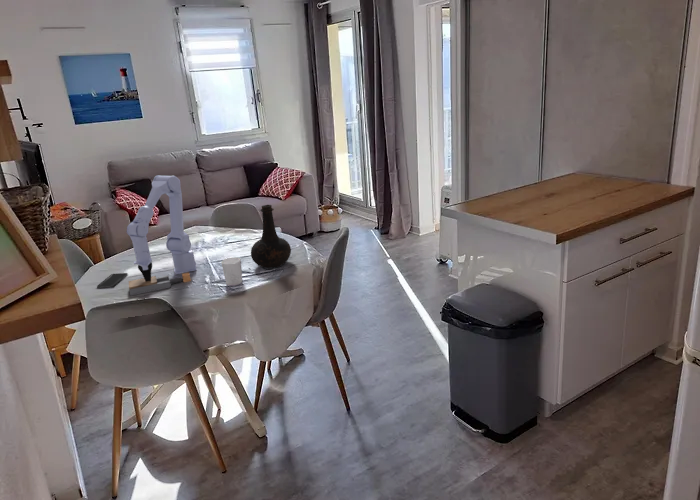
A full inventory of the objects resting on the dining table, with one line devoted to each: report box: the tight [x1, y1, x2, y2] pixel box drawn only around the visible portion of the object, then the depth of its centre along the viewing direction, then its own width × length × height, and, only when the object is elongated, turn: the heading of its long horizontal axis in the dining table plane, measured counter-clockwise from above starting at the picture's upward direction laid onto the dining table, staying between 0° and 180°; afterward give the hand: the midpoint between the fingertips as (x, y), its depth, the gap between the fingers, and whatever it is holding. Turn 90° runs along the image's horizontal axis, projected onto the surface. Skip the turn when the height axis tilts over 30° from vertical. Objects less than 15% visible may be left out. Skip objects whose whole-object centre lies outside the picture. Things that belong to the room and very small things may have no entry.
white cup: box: [221, 257, 243, 287], centre depth 213 cm, size 8×8×10 cm
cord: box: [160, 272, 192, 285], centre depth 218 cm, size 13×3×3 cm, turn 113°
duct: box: [128, 275, 172, 296], centre depth 215 cm, size 16×8×3 cm, turn 113°
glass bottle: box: [250, 204, 292, 269], centre depth 228 cm, size 18×18×28 cm
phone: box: [96, 272, 129, 289], centre depth 226 cm, size 8×1×15 cm
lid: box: [128, 275, 157, 290], centre depth 214 cm, size 11×8×1 cm
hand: (148, 280), depth 214 cm, fingers closed, pressing on lid
